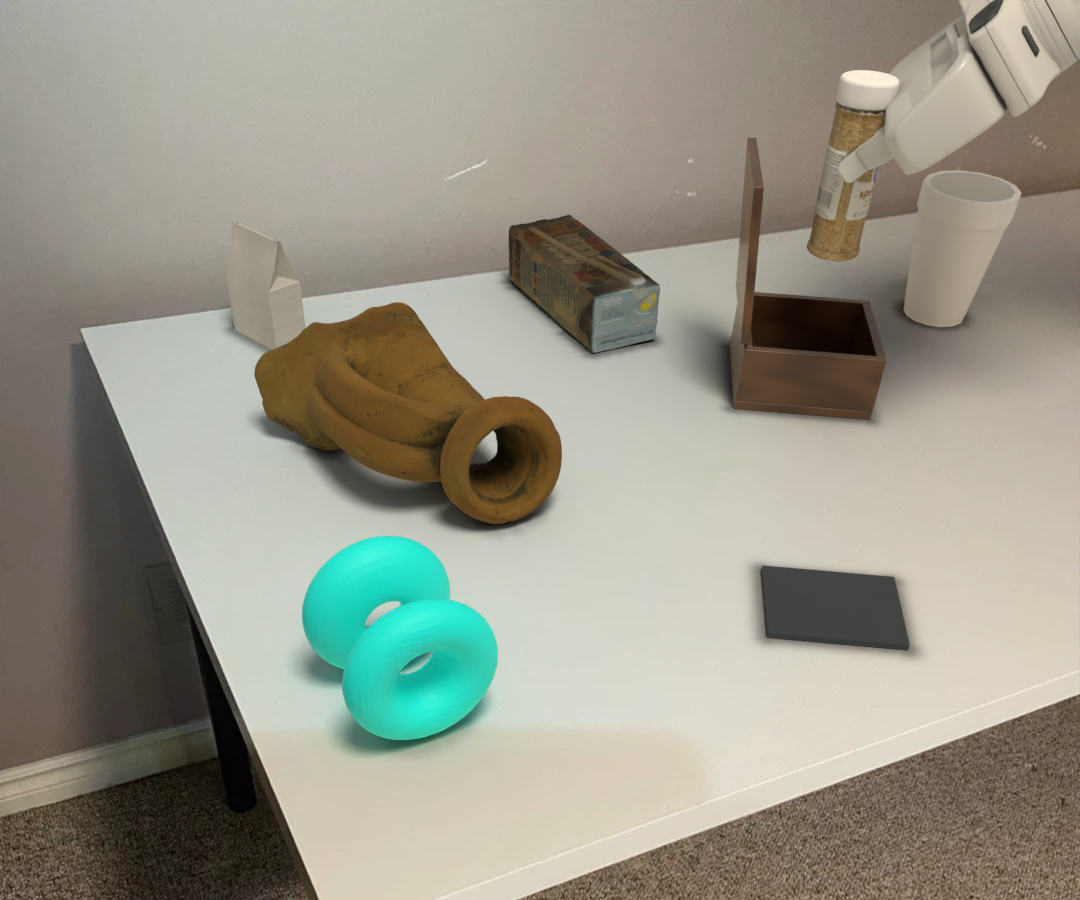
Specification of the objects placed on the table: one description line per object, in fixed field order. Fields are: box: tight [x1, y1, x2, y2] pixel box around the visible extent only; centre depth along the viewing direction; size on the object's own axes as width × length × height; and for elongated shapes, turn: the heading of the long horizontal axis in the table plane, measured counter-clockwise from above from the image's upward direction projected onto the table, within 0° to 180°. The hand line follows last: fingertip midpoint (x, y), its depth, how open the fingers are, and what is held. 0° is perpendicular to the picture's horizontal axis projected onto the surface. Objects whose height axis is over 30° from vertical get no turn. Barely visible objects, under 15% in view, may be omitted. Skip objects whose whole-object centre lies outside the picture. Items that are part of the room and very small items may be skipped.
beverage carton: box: [508, 214, 661, 354], centre depth 111 cm, size 8×19×7 cm, turn 27°
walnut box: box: [729, 291, 888, 421], centre depth 102 cm, size 13×13×6 cm
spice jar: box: [806, 69, 899, 262], centre depth 87 cm, size 5×5×14 cm
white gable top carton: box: [224, 221, 307, 351], centre depth 103 cm, size 4×7×10 cm, turn 48°
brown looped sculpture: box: [253, 301, 563, 525], centre depth 86 cm, size 18×13×22 cm
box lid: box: [735, 137, 765, 344], centre depth 95 cm, size 13×13×1 cm
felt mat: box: [760, 564, 911, 651], centre depth 79 cm, size 10×8×1 cm
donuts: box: [301, 535, 499, 741], centre depth 67 cm, size 10×10×10 cm
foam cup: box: [903, 169, 1022, 328], centre depth 111 cm, size 10×9×13 cm
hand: (844, 162), depth 87 cm, fingers closed on spice jar, 4 cm apart
